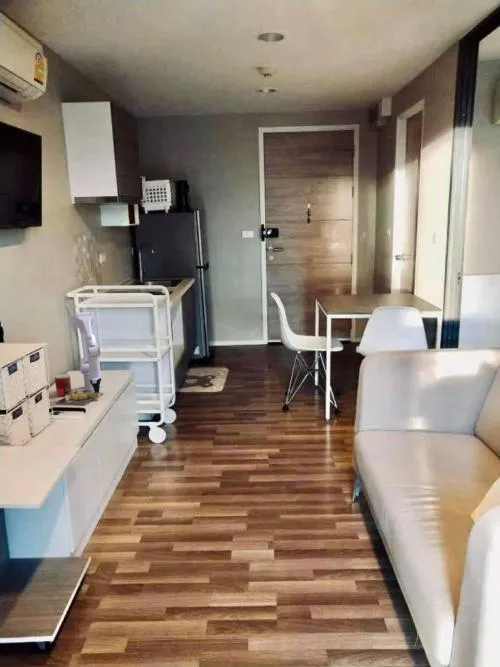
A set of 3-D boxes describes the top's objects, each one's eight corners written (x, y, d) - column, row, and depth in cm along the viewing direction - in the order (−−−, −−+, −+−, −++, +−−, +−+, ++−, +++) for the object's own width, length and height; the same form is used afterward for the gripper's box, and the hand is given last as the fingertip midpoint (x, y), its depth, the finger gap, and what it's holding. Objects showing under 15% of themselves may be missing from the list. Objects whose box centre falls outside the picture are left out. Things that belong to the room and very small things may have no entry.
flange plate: (75, 393, 281) (74, 385, 280) (103, 394, 277) (102, 386, 276) (56, 403, 264) (55, 395, 263) (85, 405, 260) (84, 397, 259)
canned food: (67, 397, 275) (65, 377, 273) (53, 396, 277) (51, 377, 274) (74, 393, 282) (72, 373, 280) (61, 392, 284) (59, 373, 282)
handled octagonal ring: (65, 399, 267) (65, 394, 267) (78, 392, 278) (77, 388, 277) (94, 400, 263) (93, 396, 262) (105, 394, 273) (105, 389, 273)
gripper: (88, 365, 279) (90, 389, 281) (85, 372, 265) (87, 397, 267) (101, 364, 280) (103, 388, 283) (99, 371, 266) (101, 395, 269)
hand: (96, 392), depth 275 cm, fingers closed
